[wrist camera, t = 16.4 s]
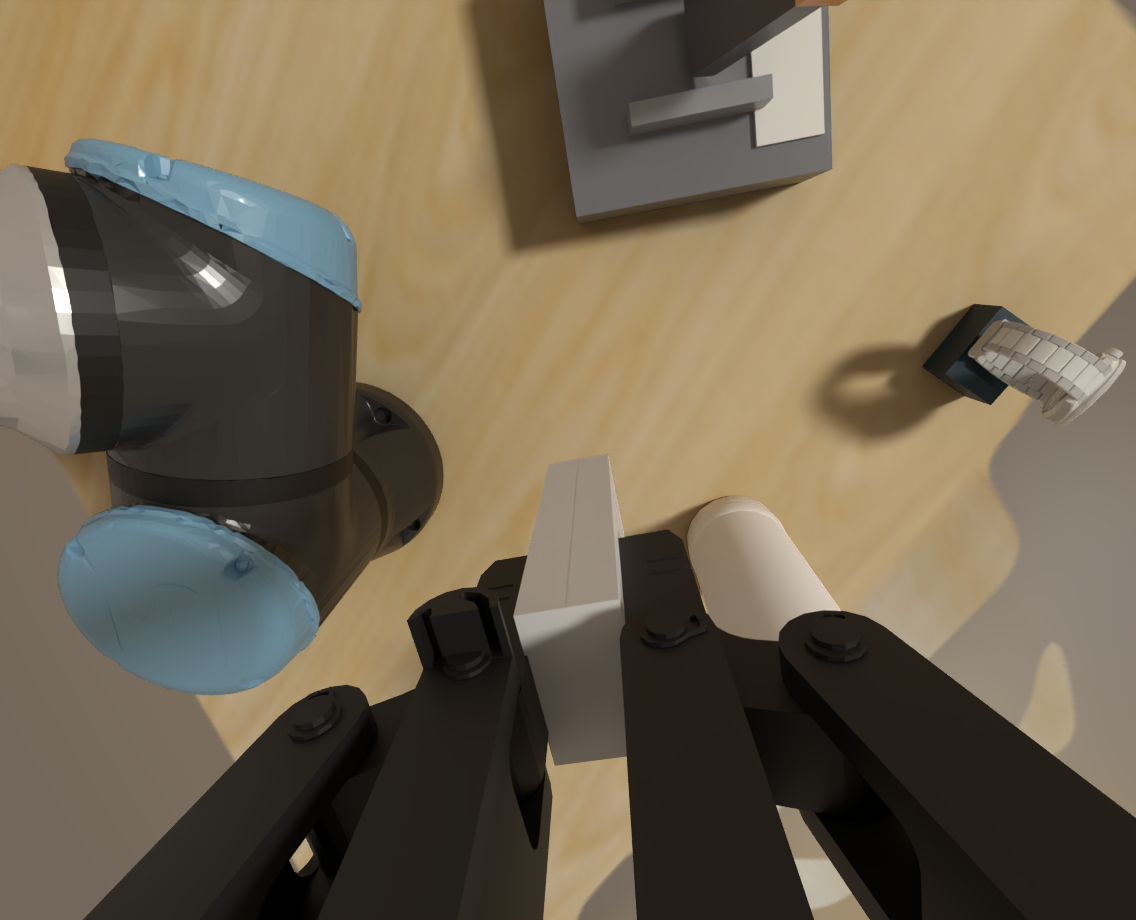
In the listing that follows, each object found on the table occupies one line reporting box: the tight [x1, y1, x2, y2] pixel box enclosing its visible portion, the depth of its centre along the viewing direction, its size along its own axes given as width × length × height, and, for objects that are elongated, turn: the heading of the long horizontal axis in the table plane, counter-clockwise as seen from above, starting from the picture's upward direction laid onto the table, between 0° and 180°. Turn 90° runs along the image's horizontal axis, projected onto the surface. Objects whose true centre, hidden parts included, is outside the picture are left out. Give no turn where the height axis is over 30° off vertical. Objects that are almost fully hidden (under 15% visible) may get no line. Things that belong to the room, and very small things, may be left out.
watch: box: [922, 304, 1126, 427], centre depth 38 cm, size 6×8×11 cm
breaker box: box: [543, 0, 832, 224], centre depth 35 cm, size 16×16×8 cm
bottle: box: [687, 496, 841, 641], centre depth 35 cm, size 8×8×30 cm
